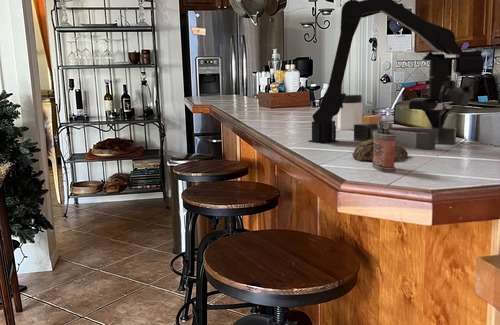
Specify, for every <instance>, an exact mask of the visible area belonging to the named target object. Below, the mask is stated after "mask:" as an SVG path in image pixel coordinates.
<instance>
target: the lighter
mask: <svg viewBox="0 0 500 325" xmlns="http://www.w3.org/2000/svg"><path fill="white" fill-rule="evenodd" d="M377 126H378V131H373V136H374V151H373V161H371V162H372V163H371V164H372V168H373V169H374V170H377V171H378V172H382V173H389V174H391V173H395V172H396V167H395V162H394V150H395V139H396V134H394V133H391V132H389V129H393V127H394V125H393V123H392V122H389V120H381V121H379V122H377Z"/></svg>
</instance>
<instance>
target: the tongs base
mask: <svg viewBox="0 0 500 325" xmlns="http://www.w3.org/2000/svg"><path fill="white" fill-rule="evenodd" d="M373 131H378V126H377V123H373V124H364V123H362V124H355V125H354V130H353V141H354V142H360V143H362V142H363V141H367V140H373V139H374V136H373ZM389 132H391V133H394V134H396V139H395V145H401V146H402V147H403V148H411V149H417V150H426V151H433V150H435V149H436V144H435V134H434V133H424V132H421V133H415V132H405V131H395V130H389Z"/></svg>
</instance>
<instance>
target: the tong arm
mask: <svg viewBox="0 0 500 325" xmlns="http://www.w3.org/2000/svg"><path fill="white" fill-rule="evenodd" d="M389 130H395V131H405V132H415V133H421V132H424V133H434V134H435V145H436V144H437V145H438V144H439V145H452V146H453V145H456V144H457V143H456V139H457V138H456V137H457V127H444V126H443V127H440V128H432V127H417V126H416V127H413V126H410V127H409V126H393V129H389Z"/></svg>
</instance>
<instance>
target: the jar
mask: <svg viewBox="0 0 500 325" xmlns="http://www.w3.org/2000/svg"><path fill="white" fill-rule="evenodd" d="M362 97H363V96H362V94H346V96H345V98H344V100H343V109H342V108H341V107H340V111H339V113H338V114H337V129H338V130H341V131H354V125H355V124H363V123H361V122H362V116H363V102H362V100H363V98H362Z"/></svg>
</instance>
